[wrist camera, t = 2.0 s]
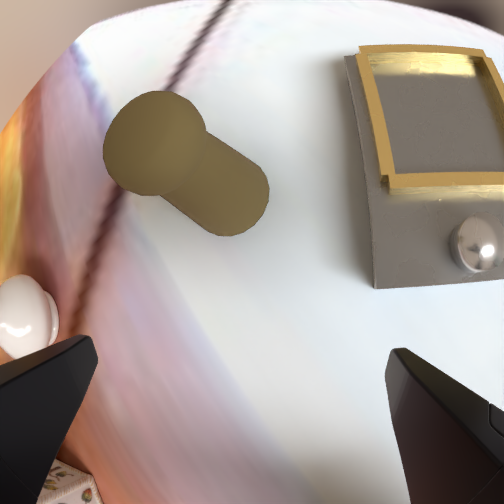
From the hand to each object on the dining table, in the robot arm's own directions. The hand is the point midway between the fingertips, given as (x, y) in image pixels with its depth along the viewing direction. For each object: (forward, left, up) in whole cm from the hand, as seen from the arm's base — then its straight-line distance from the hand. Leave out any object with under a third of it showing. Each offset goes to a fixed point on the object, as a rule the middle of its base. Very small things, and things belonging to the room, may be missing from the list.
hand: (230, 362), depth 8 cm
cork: (+6, +9, -12) cm, 16 cm away
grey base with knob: (+14, -5, -12) cm, 19 cm away
